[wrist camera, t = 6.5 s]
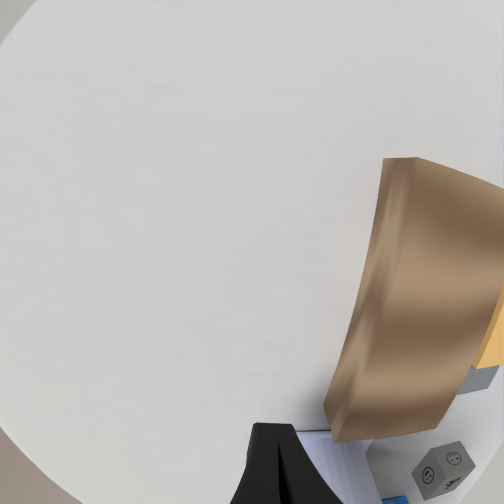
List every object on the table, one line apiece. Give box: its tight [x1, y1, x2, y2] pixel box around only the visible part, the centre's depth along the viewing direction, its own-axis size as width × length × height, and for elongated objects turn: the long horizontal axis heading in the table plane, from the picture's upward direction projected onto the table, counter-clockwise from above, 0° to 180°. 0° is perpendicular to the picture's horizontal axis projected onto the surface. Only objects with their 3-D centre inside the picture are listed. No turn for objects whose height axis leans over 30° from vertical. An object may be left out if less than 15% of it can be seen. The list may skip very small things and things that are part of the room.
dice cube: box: [412, 441, 476, 501], centre depth 22 cm, size 5×5×5 cm
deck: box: [324, 157, 504, 443], centre depth 17 cm, size 18×9×4 cm, turn 173°
